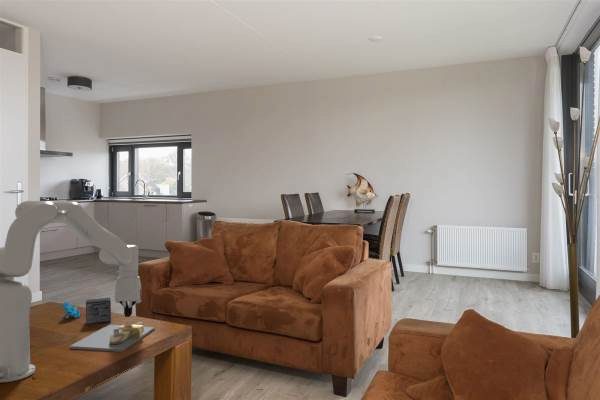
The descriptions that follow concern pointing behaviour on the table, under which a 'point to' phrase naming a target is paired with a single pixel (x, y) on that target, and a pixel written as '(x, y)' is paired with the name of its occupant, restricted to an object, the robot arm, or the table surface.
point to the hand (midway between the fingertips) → (128, 316)
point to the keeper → (137, 329)
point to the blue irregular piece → (70, 310)
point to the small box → (98, 311)
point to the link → (122, 334)
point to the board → (107, 340)
